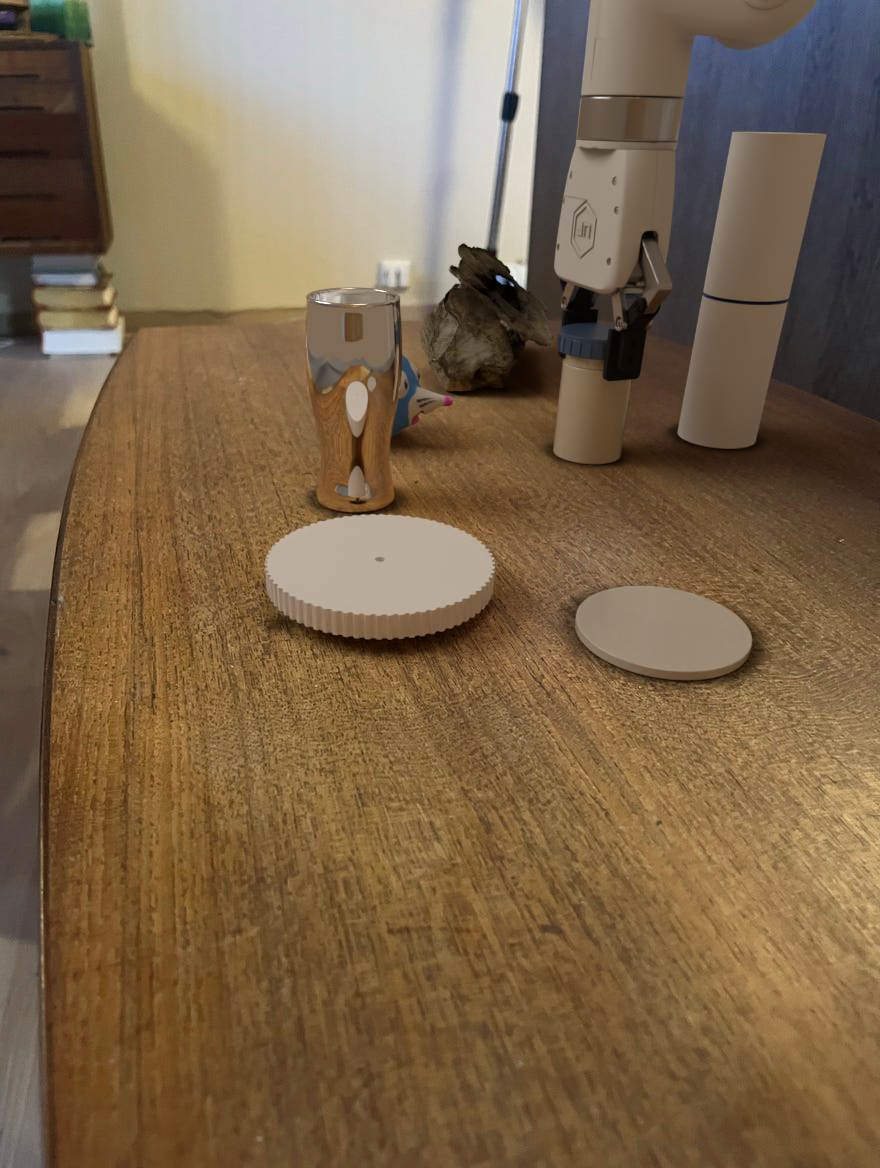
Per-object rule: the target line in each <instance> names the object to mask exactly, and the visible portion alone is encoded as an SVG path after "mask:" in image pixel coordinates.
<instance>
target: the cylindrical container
mask: <svg viewBox="0 0 880 1168" xmlns="http://www.w3.org/2000/svg"><path fill="white" fill-rule="evenodd" d="M826 139H827V133H810V132H777V131H776V132H775V131H774V132H773V131H732V132H731V138H730V143H729V148H728V155H727V160H726V165H725V171H724V176H723V181H722V186H721V192H720V197H719V202H718V203H719V204H718V208H717V214H716V220H715V225H714V231H713V236H712V240H711V247H710V253H709V259H708V263H707V268H706V274H705V280H704V284H703V285H704V286H703V291H702V292H703V293H702V296H701V302H700V306H699V312H698V318H697V323H696V330H695V333H694V339H693V345H692V349H691V350H692V351H691V356H690V362H689V367H688V372H687V378H686V383H685V389H684V394H683V400H682V406H681V410H680V411H681V412H680V416H679V422H678V426H677V435H678V437H679V438H681V439H682V440H684V441H687V442H688V443H691V444H694V445H698V446H701V447H707V448H713V449H726V450H727V449H728V450H729V449H731V450H733V449H735V450H736V449H743V448H744V449H745V448H749V447H751V446H753V445H755V443H757V437H758V433H759V429H760V424H761V419H762V415H763V412H764V407H765V403H766V398H767V394H768V389H769V386H770V382H771V376H772V372H773V368H774V364H775V360H776V355H777V351H778V347H779V342H780V338H781V334H782V328H783V325H784V321H785V316H786V312H787V307H788V303H789V298H790V295H791V290H792V286H793V282H794V277H795V272H796V269H797V265H798V264H797V263H798V260H799V255H800V252H801V247H802V243H803V239H804V234H805V229H806V225H807V221H808V216H809V212H810V208H811V203H812V200H813V196H814V191H815V187H816V182H817V178H818V174H819V169H820V165H821V160H822V157H823V153H824V149H825V143H826Z"/></svg>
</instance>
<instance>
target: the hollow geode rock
mask: <svg viewBox="0 0 880 1168" xmlns="http://www.w3.org/2000/svg"><path fill="white" fill-rule="evenodd" d="M457 255H458V256H459V258H460V260H459V262H458V266H456V265H453V264H451V265H450V266H449V268H448V272H449V273H450V274H451V275H452V276H453V277H454V278H456V279H457V280H458V281H459V283H455V284H453V285H452V287H451V288H450V289H449V290H448V291H447V292H445V294H444V297H443V298H442V299H441V300H440V301H439V303H437V304H436V306H435V307H434V309H433V310H432V311H431V312H429V313H428V314H426V316H425V317H424V319H423V322H422V325H421V329H420V331H419V334H420V342H421V344H422V350H423V352H424V354H425V356H426V359H427V361H428V365H429V366H430V368H431V369H432V371H433V372H434V374H435V376H436V378H437V380H438V382H439V384H440V385H441V387H442V388H443V390H444V391H446V392H455V391H456V392H465V391H475V390H477V389H484V388H493V389H501V388H504V386H505V383H506V380H507V378H508V377H509V375H510V373H511V370H512V368H513V366H515V364H516V363H517V361H518V360H519V357H520V355H521V353H522V352H523V351H524V349H525V348H526V343H527V342H529V341H530V342H531V341H532V342H534V344H535V345H538V346H540V347H541V346H543V347H548V346H551V344H552V340H553V339H554V335H552V333H551V330H550V328H549V327H548V324H549V323H548V318H547V315H546V312H548V310H549V309H548V306H547V304H546V303H545V302H544V301H543V300H542V299H541V298H540V297H536V296H534V293H533V292H531V291H528V290H526V289H525V288H524V287H523V286H521V285H520V284H519V282H518V281H517V280H515V278H514V276H513V275H511V269H510V268H509V266H508V265H506V264H505V263H504V262H503V261H502V260H500V259H499V258H498V257H497V256H495V255H494V254H493V253H492V252H490V250H488V249H486V248H483V247H478V246H472V247H471V246H469V245H468V244H466V243H464V242H463V243H461V244H459V245H458V246H457ZM497 277H501V278H502V279H504V280H506V281H508V282H510V284H512V285H510V284H503V283H502V282H500V281H499V280H498V279H497Z"/></svg>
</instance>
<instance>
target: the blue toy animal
mask: <svg viewBox="0 0 880 1168" xmlns="http://www.w3.org/2000/svg"><path fill="white" fill-rule="evenodd" d="M420 373H421V372H420V371H419V369H418V367H417V365H415V364H414V363H412V362H411V361H409V360H408V358H407V357H406V356H405V355H404V354H402V376H401V384H400V391H399V398H398V403H397V409H396V414H395V419H394V425H393V430H392V436H391V438H393V437H395V436H397V435H398V434H400V433H401V432H402V431H403V430H405V429H406V428H409V427H410V426H411V425H413V426H414V425H417V423H418V422H420V417H419V415H420V414H423V415H428V414H430V413H432V412H434V411H435V410H438V409H439V408H441V407H450V406H453V404H454V399H453V397H452V396H451V395H447V394H446V395H443V394H440V393H439V392H434V391H432V390H429V389H426V388H423V387H422V386H421V384H420V383H419V382H420V379H421V374H420Z"/></svg>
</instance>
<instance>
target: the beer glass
mask: <svg viewBox="0 0 880 1168" xmlns="http://www.w3.org/2000/svg"><path fill="white" fill-rule="evenodd" d="M305 298H306V310H305V312H306V313H305V334H304V337H305V338H304V341H305V342H304V345H305V347H304V349H305V350H304V351H305V352H304V353H305V368H306V379H307V385H308V393H309V397H310V403H311V406H312V413H313V417H314V421H315V426H316V432H317V437H318V443H319V451H320V452H319V453H320V464H319V465H320V468H319V475H318V481H317V488H316V500H317V501H318V503H319V504H320V505H322V506H323V507H325V508H327V509H330V510H333V511H337V512H341V513H342V512H343V513H369V512H374V511H379V510H382V509H384V508H386V507H389V506H390V505H391V504H392V503H393V502H394V500H395V487H394V482H393V481H394V480H393V476H392V469H391V456H390V455H391V441H392V437H391V436H392V430H393V425H394V419H395V414H396V409H397V403H398V398H399V391H400V384H401V376H402V355H403V329H402V328H403V327H402V326H403V325H402V315H401V313H402V312H401V295H400V294H398V293H397V292H395V291H391V290H387V289H381V288H374V287H373V288H372V287H353V286H352V287H351V286H349V287H347V286H346V287H329V288H321V289H316V290H313V291H310V292H308V293H307V294H306V295H305Z"/></svg>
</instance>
